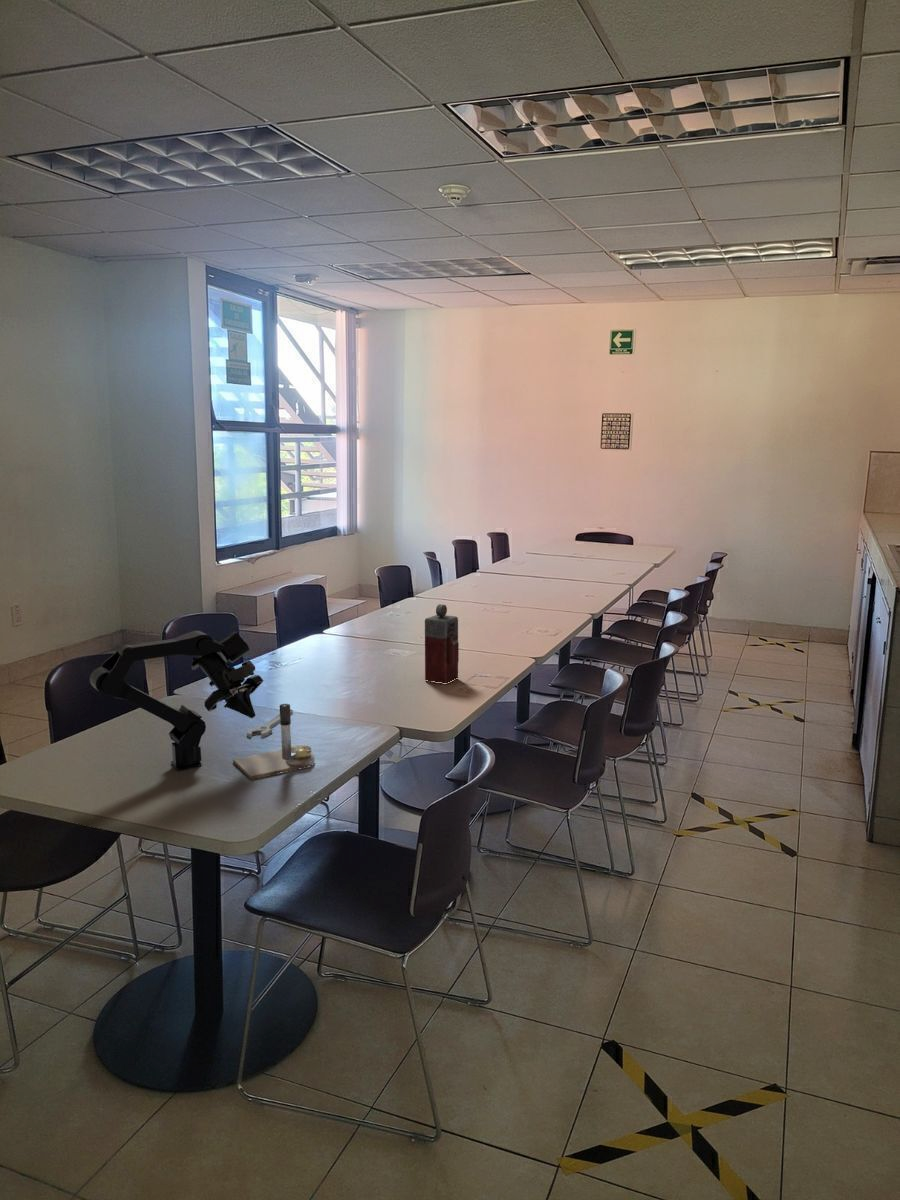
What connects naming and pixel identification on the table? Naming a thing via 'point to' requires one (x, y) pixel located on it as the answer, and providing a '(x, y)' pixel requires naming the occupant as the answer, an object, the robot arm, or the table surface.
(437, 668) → the knobbed red-grey post
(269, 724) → the adjustable wrench
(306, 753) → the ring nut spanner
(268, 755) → the brown wooden board
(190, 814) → the table surface
